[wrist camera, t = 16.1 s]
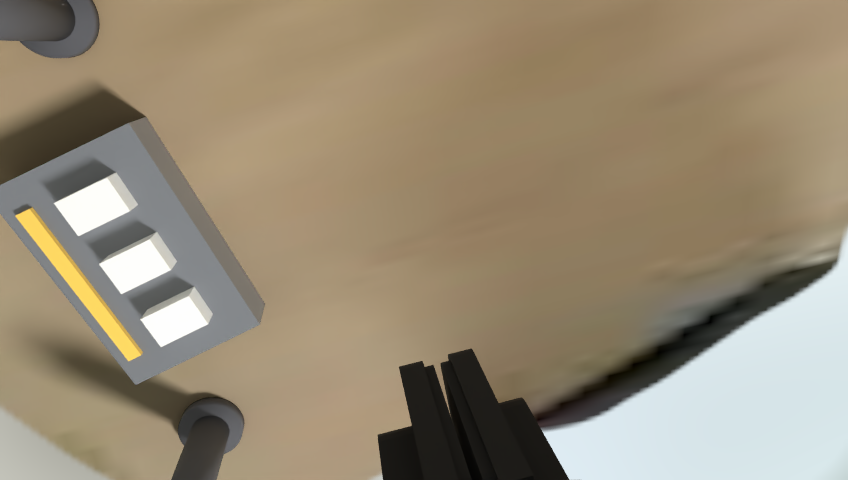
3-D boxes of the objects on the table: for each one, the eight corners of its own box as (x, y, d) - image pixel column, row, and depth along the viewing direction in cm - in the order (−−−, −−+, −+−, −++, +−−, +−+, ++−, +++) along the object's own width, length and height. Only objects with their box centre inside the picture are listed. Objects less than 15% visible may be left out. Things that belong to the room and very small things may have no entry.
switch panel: (17, 179, 38) (-32, 199, 33) (148, 115, 38) (119, 125, 33) (151, 356, 44) (128, 397, 39) (265, 301, 44) (257, 334, 39)
